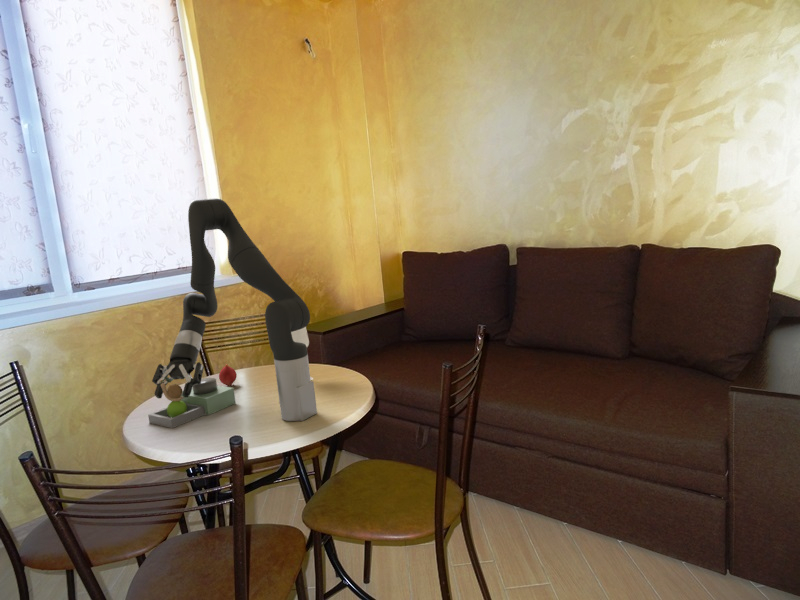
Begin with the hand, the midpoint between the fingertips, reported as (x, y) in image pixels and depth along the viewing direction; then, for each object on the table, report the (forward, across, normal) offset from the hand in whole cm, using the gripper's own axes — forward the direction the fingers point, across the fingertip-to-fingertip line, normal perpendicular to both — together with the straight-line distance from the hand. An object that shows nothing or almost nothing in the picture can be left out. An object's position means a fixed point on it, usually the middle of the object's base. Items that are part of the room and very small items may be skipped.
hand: (171, 396), depth 149 cm
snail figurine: (+4, 0, +6) cm, 8 cm away
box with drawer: (+1, +2, +9) cm, 9 cm away
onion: (-16, +2, +26) cm, 31 cm away
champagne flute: (-18, +28, +29) cm, 44 cm away
